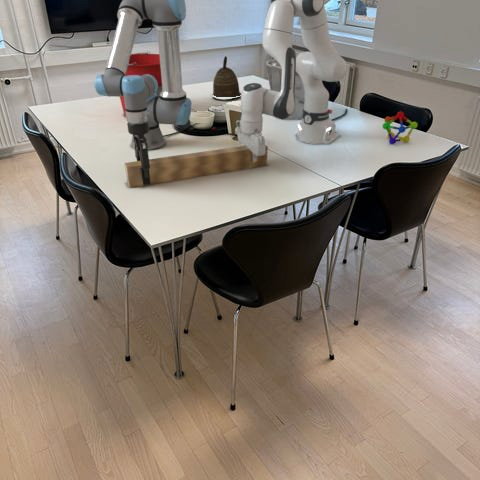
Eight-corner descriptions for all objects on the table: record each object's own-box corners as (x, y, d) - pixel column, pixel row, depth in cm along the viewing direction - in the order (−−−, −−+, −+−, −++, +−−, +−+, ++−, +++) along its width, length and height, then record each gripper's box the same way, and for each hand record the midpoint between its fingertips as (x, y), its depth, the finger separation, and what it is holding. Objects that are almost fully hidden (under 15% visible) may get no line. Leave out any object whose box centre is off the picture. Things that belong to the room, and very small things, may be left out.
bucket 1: (123, 104, 265) (116, 50, 249) (181, 105, 264) (178, 51, 248) (106, 122, 236) (97, 62, 220) (172, 123, 235) (167, 63, 219)
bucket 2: (291, 126, 231) (295, 70, 216) (253, 114, 250) (254, 61, 235) (328, 115, 248) (333, 63, 233) (289, 104, 267) (292, 55, 252)
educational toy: (377, 146, 209) (379, 114, 202) (384, 138, 219) (386, 107, 211) (411, 149, 202) (415, 116, 195) (417, 141, 212) (420, 109, 204)
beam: (129, 187, 167) (126, 167, 163) (127, 182, 171) (124, 162, 167) (267, 165, 187) (267, 146, 182) (262, 161, 190) (262, 142, 186)
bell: (227, 105, 294) (202, 96, 282) (238, 66, 289) (213, 55, 277) (243, 108, 280) (217, 98, 268) (255, 66, 275) (229, 55, 263)
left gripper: (154, 128, 152) (160, 189, 165) (142, 113, 167) (148, 170, 180) (132, 130, 150) (140, 192, 162) (122, 115, 165) (130, 172, 177)
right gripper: (270, 133, 171) (268, 166, 178) (248, 118, 187) (248, 149, 194) (255, 135, 168) (254, 169, 176) (234, 120, 184) (234, 151, 192)
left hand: (144, 180), depth 171 cm, fingers open, 6 cm apart
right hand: (250, 158), depth 185 cm, fingers closed on beam, 5 cm apart
